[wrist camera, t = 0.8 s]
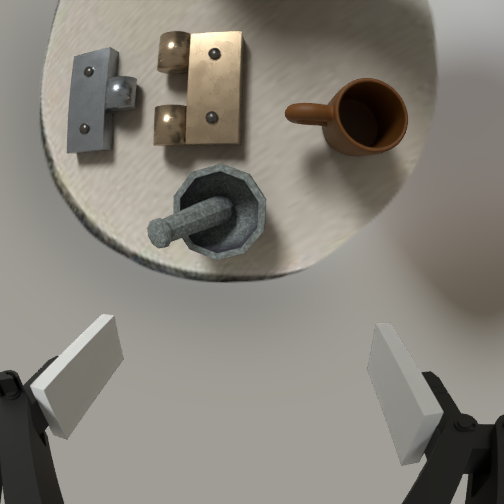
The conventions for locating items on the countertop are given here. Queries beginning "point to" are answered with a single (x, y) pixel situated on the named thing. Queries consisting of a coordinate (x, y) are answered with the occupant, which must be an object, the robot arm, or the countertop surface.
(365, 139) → the mug
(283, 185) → the countertop surface
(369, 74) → the countertop surface
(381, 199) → the countertop surface
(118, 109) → the loose leaf
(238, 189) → the mortar and pestle
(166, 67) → the fixed leaf
